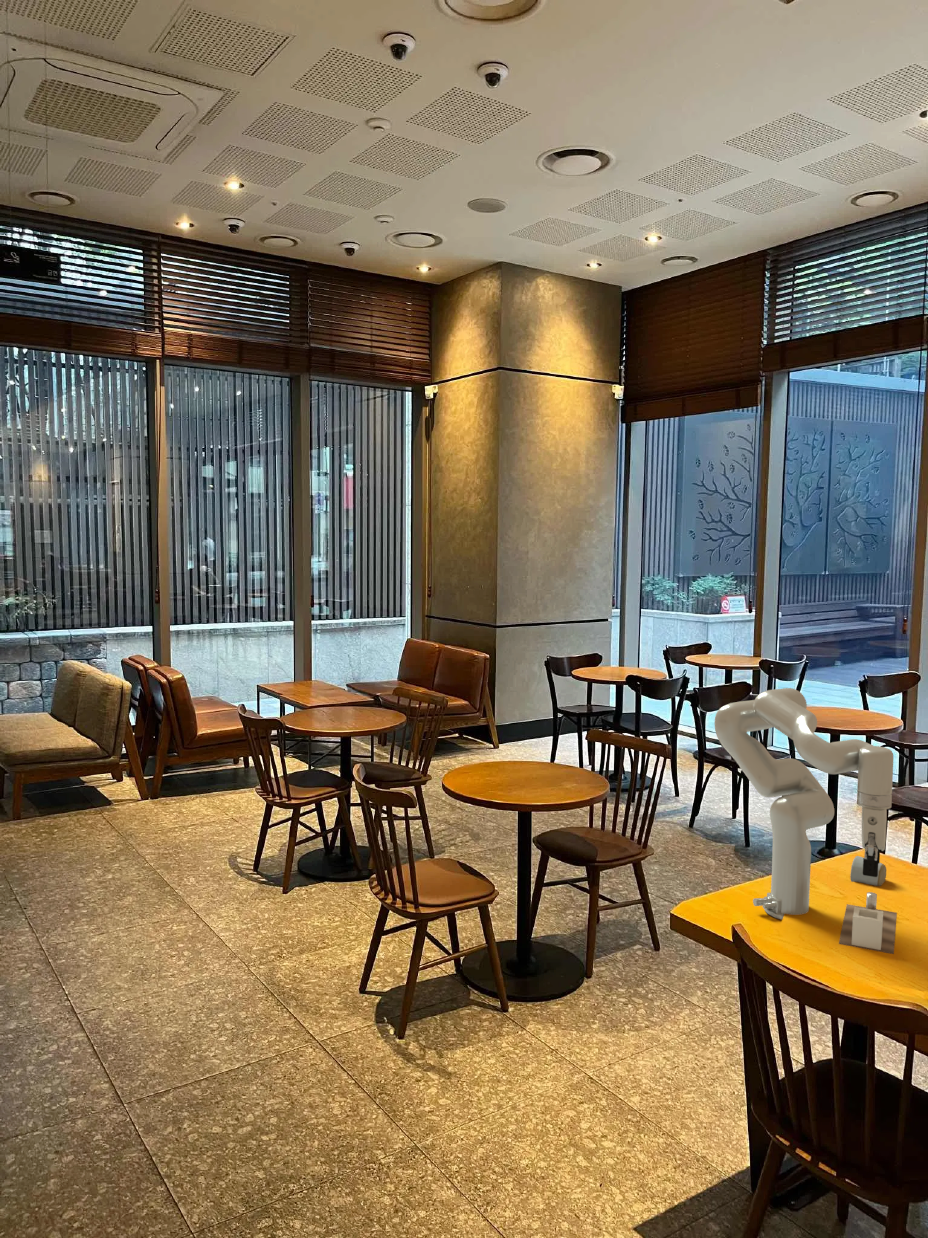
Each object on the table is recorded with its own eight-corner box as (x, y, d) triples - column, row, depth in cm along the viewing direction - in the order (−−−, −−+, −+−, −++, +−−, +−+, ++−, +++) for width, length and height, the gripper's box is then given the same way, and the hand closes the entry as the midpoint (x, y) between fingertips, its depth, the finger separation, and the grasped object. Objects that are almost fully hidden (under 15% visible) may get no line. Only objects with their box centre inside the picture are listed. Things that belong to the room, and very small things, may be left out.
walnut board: (893, 960, 219) (893, 954, 218) (838, 949, 224) (838, 943, 224) (896, 918, 242) (896, 912, 242) (846, 909, 247) (846, 904, 247)
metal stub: (869, 915, 240) (870, 896, 240) (863, 911, 243) (864, 892, 242) (877, 914, 241) (878, 895, 240) (872, 910, 243) (873, 892, 242)
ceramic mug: (880, 893, 258) (881, 866, 258) (849, 886, 263) (850, 859, 263) (889, 882, 267) (890, 856, 266) (859, 875, 272) (860, 849, 271)
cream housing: (880, 950, 220) (882, 921, 220) (851, 944, 223) (852, 916, 222) (881, 939, 226) (883, 911, 225) (853, 934, 229) (854, 906, 228)
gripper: (890, 811, 212) (887, 884, 213) (892, 791, 227) (889, 860, 229) (854, 806, 215) (851, 878, 217) (859, 788, 230) (856, 855, 232)
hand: (871, 869), depth 223 cm, fingers open, 9 cm apart
